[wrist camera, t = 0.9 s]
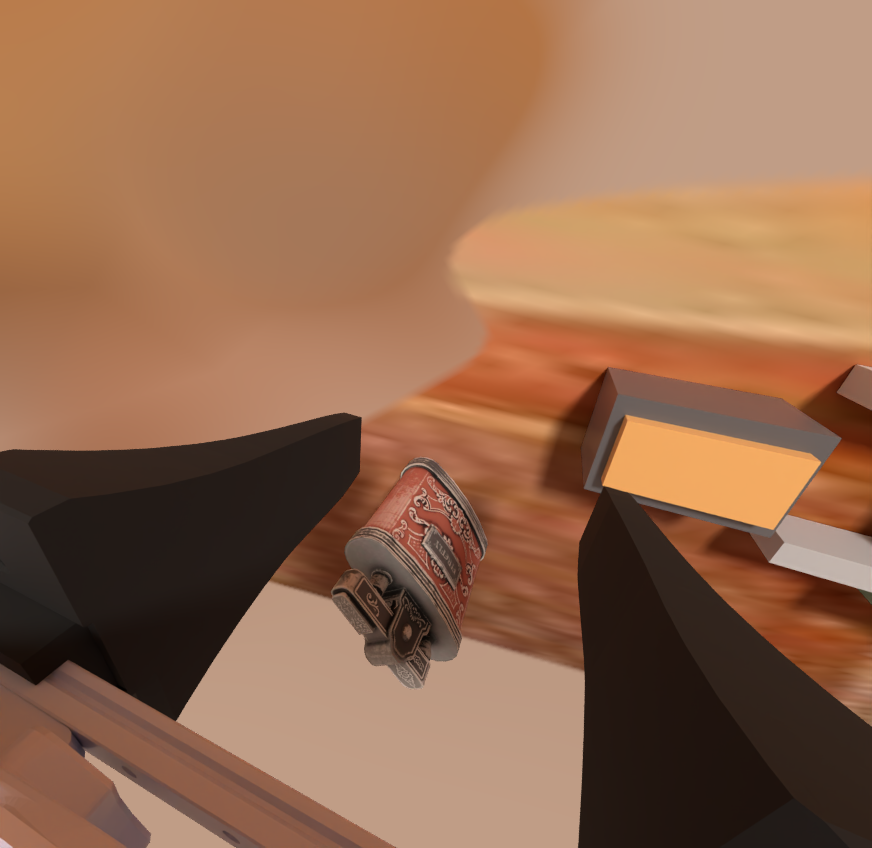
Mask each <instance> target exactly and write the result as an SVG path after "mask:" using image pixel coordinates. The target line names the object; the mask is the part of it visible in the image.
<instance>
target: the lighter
mask: <svg viewBox="0 0 872 848" xmlns="http://www.w3.org/2000/svg"><path fill="white" fill-rule="evenodd" d="M487 545H488V544H487V539H486V536H485V534H484V531H483V529H482V526H481V524H480V521H479V519H478V518H477V516H476V514H475V512H474V510H473V508H472V507H471V505H470V503H469V501H468V500H467V498H466V497H465V496H464V494H463V493H462V491H461V490H460V489H459V487H458V486H457V485H456V483H455V482H454V481H453V480H452V478H451V477H450V476H449V475H448V474H447V473H446V472H445V471H444V470H443V469H442V467H441V466H440V465H439V464H438V463H437V462H435V461H434V460H432V459H430V458H427V457H418V458H415V459H413V460H411V461H410V462H409V463H408V464H407V466H406V467H405V468H404V470H403V471H402V473H401V478H400V480H399V481H398V482H397V484H396V485H395V486H394V488H393V489H392V490H391V492H390V493H389V494H388V496H387V497H386V498H385V500H384V501H383V502H382V504H381V505H380V506H379V508H378V509H377V510H376V512H375V513H374V514H373V516H372V517H371V518H370V520H369V521H368V522H367V524H366V525H365V526H364V527H363V528H361V529H359V530H357V531H356V532H355V534H354V535H353V536H352V537H351V539H350V540H349V541H348V543H347V544H346V546H345V552H344V553H345V556H346V559H347V561H348V563H349V565H350V566H351V568H352V569H349V570H347V571H345V572H344V573H343V574H342V576H341V577H340V579H339V580H338V582H337V583H336V584H335V586H334V587H333V589H332V590H331V594H332V596H333V597H332V600H333V602H334V603H335V605H336V606H337V607H338V608H339V609H340V611H341V612H342V613H343V615H344V616H345V617H346V619H347V620H348V621H349V622H350V624H351V625H352V626H353V627H354V629H355V630H356V631H357V632H358V634H359V635H360V634H363V635H364V637H365V647H364V650H365V655H366V658H367V659H368V661H369V662H370V663H371V664H372V665H374V666H381V665H387V666H388V667H389V668H390V670H391V671H392V672H393V674H394V675H395V676H396V678H397V679H398V680H399V681H400V683H401V684H402V685H403V686H405V687H406V688H408V689H414V690H416V689H422V688H423V686H424V683H425V680H426V677H427V674H428V671H429V668H430V662H429V661H430V659H431V660H435V661H449V660H452V659H453V658H455V657H456V656H457V653H458V650H459V646H460V643H461V639H462V635H461V631H460V629H461V625H462V622H463V618H464V615H465V611H466V608H467V604H468V601H469V597H470V594H471V590H472V587H473V583H474V580H475V576H476V573H477V569H478V566H479V562H480V561H481V560H482V559H483V558H484V555H485V552H486V548H487Z"/></svg>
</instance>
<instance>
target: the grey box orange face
mask: <svg viewBox="0 0 872 848" xmlns="http://www.w3.org/2000/svg"><path fill="white" fill-rule="evenodd" d="M841 439H842V438H841V437H839V436H838V435H836V434H835V433H833V432H832V431H830V430H829V429H827V428H825V427H824V426H822V425H821V424H819V423H818V422H816V421H815V420H813V419H812V418H810V417H809V416H807V415H806V414H804V413H803V412H801V411H800V410H798V409H797V408H795V407H794V406H792V405H791V404H789V403H788V402H786V401H785V400H783V399H781V398H776V397H770V396H765V395H759V394H754V393H748V392H743V391H737V390H732V389H726V388H721V387H715V386H710V385H704V384H699V383H693V382H688V381H682V380H677V379H671V378H666V377H660V376H655V375H649V374H644V373H638V372H633V371H627V370H622V369H616V368H611V367H608V369H607V372H606V375H605V378H604V381H603V384H602V387H601V390H600V393H599V396H598V398H597V401H596V404H595V407H594V410H593V413H592V416H591V419H590V422H589V425H588V428H587V431H586V434H585V437H584V440H583V443H582V446H581V458H582V472H583V486H584V489H586V490H590V491H594V492H598V493H601V491H602V489H603V487H604V486H607V487H610V488H614V489H617V490H621V491H624V492H628V493H629V494H630V495H631V496H632V497H633V498H634V499H635V500H636V501H637V503H639V504H643V505H647V506H651V507H654V508H658V509H662V510H666V511H670V512H673V513H677V514H681V515H685V516H689V517H692V518H696V519H700V520H704V521H708V522H711V523H715V524H719V525H723V526H726V527H730V528H734V529H738V530H742V531H745V532H749V533H753V534H757V535H761V536H764V537H768V538H771V536H772V535H773V534H774V532H775V531H776V530H777V528H778V527H779V525H780V524H781V523H782V521H783V520H784V518H785V517H786V516H787V514H788V513H789V511H790V510H791V509H792V507H793V506H794V504H795V503H796V502H797V500H798V499H799V497H800V496H801V495H802V493H803V492H804V490H805V489H806V488H807V486H808V485H809V484H810V482H811V481H812V479H813V478H814V477H815V475H816V474H817V472H818V471H819V470H820V468H821V467H822V465H823V464H824V463H825V461H826V460H827V458H828V457H829V456H830V454H831V453H832V451H833V450H834V449H835V447H836V446H837V444H838V443H839V442H840V440H841Z"/></svg>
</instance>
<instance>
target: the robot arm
mask: <svg viewBox="0 0 872 848" xmlns="http://www.w3.org/2000/svg"><path fill="white" fill-rule="evenodd" d="M361 419H362V418H361V417H358V416H354V415H351V414H347V413H339V414H333V415H329V416H325V417H320V418H316V419H313V420H309V421H305V422H301V423H297V424H293V425H289V426H286V427H282V428H278V429H273V430H269V431H265V432H260V433H256V434H251V435H247V436H242V437H237V438H232V439H226V440H220V441H214V442H206V443H199V444H192V445H181V446H170V447H160V448H148V449H130V450H101V451H60V450H59V451H58V450H17V449H15V450H14V449H13V450H7V451H2V452H0V848H146V847H147V845H148V844H149V843H150V836H151V834H150V832H149V831H148V830H147V829H146V828H145V827H144V826H143V825H142V824H141V822H140V821H139V820H138V819H137V818H136V817H135V816H134V815H133V814H132V813H131V811H130V810H129V809H128V807H127V806H126V804H125V803H124V802H123V801H122V799H121V798H120V796H119V794H118V792H117V790H116V787H115V785H114V783H113V782H112V781H111V780H110V779H109V778H108V777H106V776H105V775H104V774H103V773H102V772H100V771H99V770H98V769H97V768H96V767H94V766H93V765H92V764H91V763H89V762H88V761H87V760H86V759H85V758H84V757H85V751H87V752H88V753H90V754H91V755H93V756H95V757H96V758H98V759H100V760H101V761H102V762H104V763H105V764H107V765H109V766H110V767H112V768H113V769H115V770H116V771H118V772H119V773H121V774H122V775H124V776H126V777H127V778H129V779H130V780H132V781H133V782H135V783H137V784H138V785H140V786H141V787H143V788H144V789H146V790H147V791H149V792H150V793H152V794H153V795H155V796H157V797H158V798H160V799H162V800H163V801H164V802H166V803H167V804H169V805H171V806H172V807H174V808H175V809H177V810H178V811H180V812H182V813H183V814H185V815H186V816H188V817H189V818H191V819H192V820H194V821H195V822H197V823H198V824H200V825H202V826H203V827H205V828H206V829H208V830H209V831H211V832H212V833H214V834H216V835H217V836H219V837H220V838H222V839H223V840H225V841H226V842H228V843H230V844H231V845H233V846H234V847H236V848H396V847H394V846H392V845H391V844H389V843H387V842H385V841H384V840H382V839H380V838H378V837H377V836H375V835H373V834H371V833H370V832H368V831H366V830H364V829H363V828H361V827H359V826H357V825H356V824H354V823H352V822H350V821H349V820H347V819H345V818H343V817H342V816H340V815H338V814H336V813H335V812H333V811H331V810H329V809H328V808H326V807H324V806H323V805H321V804H319V803H317V802H316V801H314V800H312V799H310V798H309V797H307V796H305V795H303V794H301V793H300V792H298V791H296V790H295V789H293V788H291V787H289V786H288V785H286V784H284V783H282V782H281V781H279V780H277V779H275V778H274V777H272V776H270V775H268V774H267V773H265V772H263V771H261V770H260V769H258V768H256V767H254V766H253V765H251V764H249V763H247V762H246V761H244V760H242V759H240V758H239V757H237V756H235V755H233V754H232V753H230V752H228V751H226V750H225V749H223V748H221V747H220V746H218V745H216V744H214V743H213V742H211V741H209V740H207V739H206V738H203V737H202V736H200V735H199V734H197V733H195V732H193V731H192V730H190V729H188V728H186V727H185V726H183V725H181V724H179V723H178V722H176V720H177V718H178V717H179V715H180V714H181V712H182V710H183V708H184V707H185V705H186V703H187V702H188V700H189V699H190V697H191V695H192V694H193V692H194V691H195V689H196V687H197V686H198V684H199V683H200V681H201V679H202V678H203V676H204V675H205V673H206V672H207V670H208V668H209V667H210V665H211V663H212V662H213V660H214V659H215V657H216V656H217V654H218V653H219V651H220V650H221V648H222V647H223V645H224V644H225V642H226V641H227V639H228V638H229V636H230V635H231V633H232V632H233V630H234V629H235V627H236V626H237V624H238V623H239V621H240V620H241V619H242V617H243V616H244V614H245V613H246V612H247V610H248V609H249V607H250V606H251V605H252V603H253V602H254V600H255V599H256V597H257V596H258V595H259V593H260V592H261V590H262V589H263V588H264V586H265V585H266V584H267V583H268V581H269V580H270V579H271V577H272V576H273V575H274V573H275V572H276V571H277V569H278V568H279V567H280V565H281V564H282V563H283V561H284V560H285V559H286V558H287V557H288V555H289V554H290V553H291V552H292V551H293V550H294V548H295V547H296V546H297V545H298V544H299V543H300V542H301V541H302V540H303V539H304V538H305V536H306V535H307V534H308V533H309V532H310V531H311V530H312V529H313V528H314V527H315V526H316V525H317V524H318V523H319V521H320V520H321V519H322V518H323V517H324V516H325V515H326V514H327V513H328V512H329V511H330V510H331V509H332V507H333V506H334V505H335V504H336V503H337V502H338V501H339V500H340V499H341V497H342V496H343V495H344V494H345V492H346V491H347V489H348V488H349V487H350V485H351V484H352V482H353V481H354V479H355V478H356V476H357V475H358V473H359V472H360V447H361ZM578 590H579V603H580V616H581V628H582V640H583V652H584V669H585V705H584V742H583V768H582V790H581V808H580V825H579V843H578V848H872V727H871V726H870V725H869V724H867V723H866V722H865V721H864V720H862V719H861V718H860V717H858V716H857V715H856V714H855V713H853V712H852V711H851V710H850V709H848V708H847V707H846V706H845V705H843V704H842V703H841V702H840V701H838V700H837V699H836V698H834V697H833V696H832V695H831V694H830V693H828V692H827V691H826V690H825V689H823V688H822V687H821V686H820V685H819V684H817V683H816V682H815V681H814V680H813V679H811V678H810V677H809V676H808V675H807V674H806V673H804V672H803V671H802V670H801V669H800V668H798V667H797V666H796V665H795V664H794V663H792V662H791V661H790V660H789V659H788V658H786V657H785V656H784V655H783V654H782V653H781V652H779V651H778V650H777V649H776V648H775V647H774V646H773V645H772V644H770V643H769V642H768V641H767V640H766V639H765V638H764V637H762V636H761V635H760V634H759V633H758V632H757V631H756V630H755V629H754V628H753V627H752V626H751V625H750V624H749V623H747V622H746V621H745V620H744V619H743V618H742V617H741V616H740V615H739V614H738V613H737V612H736V611H735V610H734V609H733V608H731V607H730V606H729V605H728V604H727V603H726V602H725V601H724V600H723V599H722V598H721V597H720V596H719V595H718V594H717V593H716V592H715V591H714V590H713V589H712V587H711V586H710V585H709V584H708V583H707V582H706V581H705V580H704V579H703V578H702V577H701V576H700V575H699V574H698V573H697V572H696V571H695V569H694V568H693V567H692V566H691V565H690V564H689V563H688V562H687V561H686V560H685V558H684V557H683V556H682V555H681V554H680V553H679V552H678V550H677V549H676V548H675V547H674V546H673V545H672V544H671V542H670V541H669V540H668V539H667V538H666V536H665V535H664V534H663V533H662V532H661V530H660V529H659V528H658V527H657V526H656V524H655V523H654V522H653V521H652V520H651V518H650V517H649V516H648V515H647V513H646V512H645V511H644V510H643V509H642V507H641V506H640V505H639V504H638V503H637V501H636V500H635V499H634V498H633V497H632V496H631V495H630V494H629V493H628V492H624V491H621V490H617V489H614V488H610V487H607V486H604V487H603V489H602V491H601V494H600V496H599V498H598V501H597V503H596V505H595V508H594V510H593V512H592V514H591V517H590V519H589V521H588V524H587V526H586V528H585V531H584V533H583V535H582V538H581V540H580V543H579V557H578Z"/></svg>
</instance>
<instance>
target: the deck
mask: <svg viewBox="0 0 872 848" xmlns="http://www.w3.org/2000/svg"><path fill="white" fill-rule="evenodd" d="M837 393H838V394H840V395H842V396H844V397H846V398H848V399H850V400H852V401H854V402H856V403H858V404H860V405H862V406H864V407H866V408H868V409H870V410H872V367H868V366H862V365H855V367H854V368H853V369H852V371H851V372H850V374H849V375H848V377H847V378H846V380H845V381H844V382H843V384H842V385H841V387H840V388H839V390H838V391H837ZM750 535H751V536H752V538H753V539H754V541H755V542H756V544H757V545H758V547H759V548H760V550H761V551H762V553H763V554H764V556H765V557H766V559H767V560H768V562H769V563H773V564H776V565H779V566H783V567H786V568H790V569H793V570H797V571H800V572H803V573H807V574H810V575H814V576H817V577H820V578H824V579H827V580H831V581H834V582H838V583H841V584H844V585H848V586H851V587H855V588H857V589H858V590H859V591H860V592H861V593H862V594H863V596H864V597H865V598H866V599H867V600H868V601H869V602H870V604H871V605H872V537H870V536H866V535H862V534H858V533H855V532H851V531H847V530H843V529H839V528H836V527H832V526H828V525H824V524H820V523H817V522H813V521H809V520H805V519H801V518H798V517H794V516H790V515H787V516H786V517H785V518H784V520H783V521H782V523H781V524H780V525H779V527H778V528H777V530H776V531H775V532H774V534H773V535H772V536H771V538H768V537H764V536H761V535H757V534H753V533H750Z"/></svg>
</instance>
